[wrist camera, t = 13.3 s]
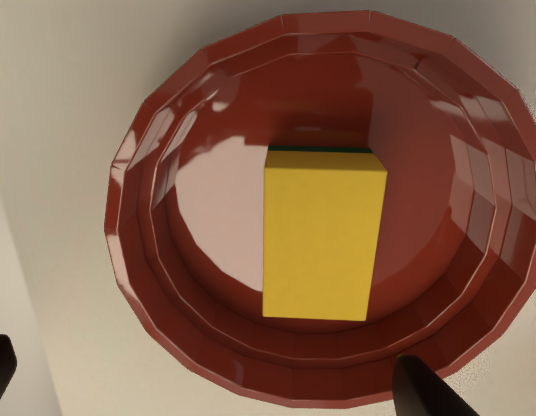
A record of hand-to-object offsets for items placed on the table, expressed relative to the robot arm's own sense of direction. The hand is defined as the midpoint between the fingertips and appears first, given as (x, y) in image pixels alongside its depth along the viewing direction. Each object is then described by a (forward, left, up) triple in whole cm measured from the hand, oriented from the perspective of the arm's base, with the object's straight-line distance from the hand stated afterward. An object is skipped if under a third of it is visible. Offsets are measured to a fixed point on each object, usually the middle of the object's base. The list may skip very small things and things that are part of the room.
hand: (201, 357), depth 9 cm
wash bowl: (+2, -3, -11) cm, 11 cm away
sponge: (+2, -3, -10) cm, 11 cm away
